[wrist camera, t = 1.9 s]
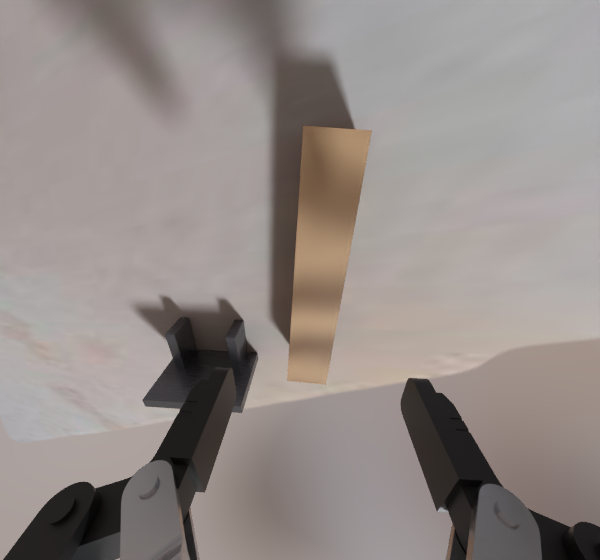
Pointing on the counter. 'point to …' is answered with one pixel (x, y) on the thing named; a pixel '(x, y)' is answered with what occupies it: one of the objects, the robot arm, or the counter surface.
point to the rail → (323, 243)
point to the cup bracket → (201, 366)
